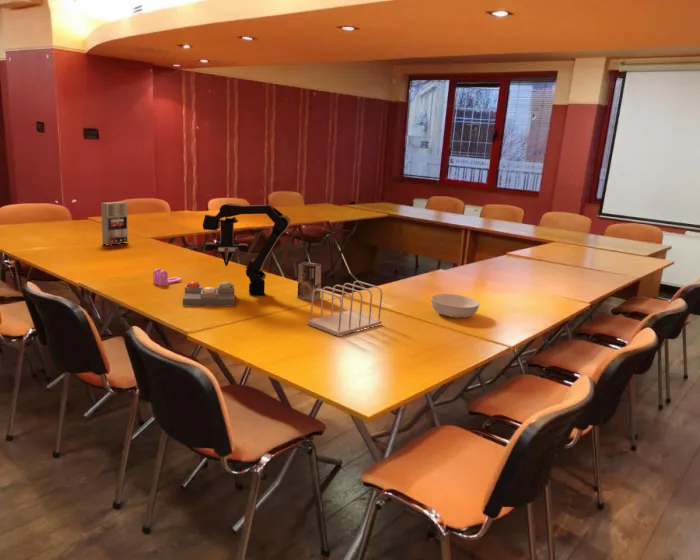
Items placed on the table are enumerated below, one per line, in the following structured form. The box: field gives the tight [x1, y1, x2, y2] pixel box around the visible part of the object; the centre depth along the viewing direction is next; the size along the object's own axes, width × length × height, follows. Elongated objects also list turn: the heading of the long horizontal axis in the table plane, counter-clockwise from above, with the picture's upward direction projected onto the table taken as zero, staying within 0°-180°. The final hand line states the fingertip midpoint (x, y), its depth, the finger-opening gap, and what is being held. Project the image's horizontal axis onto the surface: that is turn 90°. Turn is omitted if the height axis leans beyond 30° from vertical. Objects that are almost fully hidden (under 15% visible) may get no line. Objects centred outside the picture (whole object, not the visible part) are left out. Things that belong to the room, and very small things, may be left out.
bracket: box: [152, 268, 182, 286], centre depth 265 cm, size 13×6×7 cm, turn 145°
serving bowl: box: [430, 293, 480, 318], centre depth 247 cm, size 21×21×7 cm
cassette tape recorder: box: [100, 201, 129, 246], centre depth 337 cm, size 14×6×25 cm, turn 147°
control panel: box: [182, 283, 236, 307], centre depth 242 cm, size 21×17×5 cm
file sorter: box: [307, 280, 383, 337], centre depth 222 cm, size 25×17×16 cm
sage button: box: [220, 281, 232, 288], centre depth 247 cm, size 4×4×3 cm
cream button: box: [203, 286, 216, 293], centre depth 237 cm, size 4×4×3 cm
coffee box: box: [297, 261, 323, 302], centre depth 255 cm, size 9×6×16 cm
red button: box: [187, 280, 200, 288], centre depth 244 cm, size 4×4×3 cm
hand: (226, 265), depth 255 cm, fingers closed
